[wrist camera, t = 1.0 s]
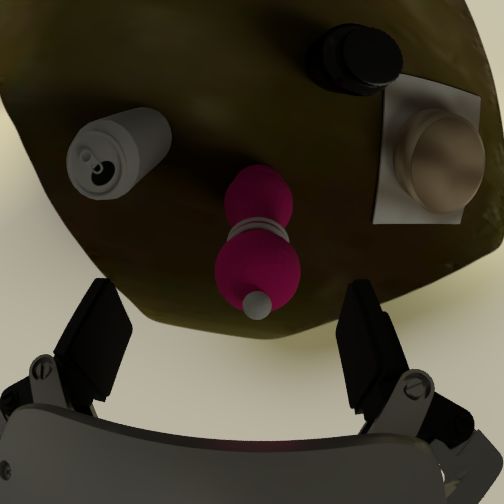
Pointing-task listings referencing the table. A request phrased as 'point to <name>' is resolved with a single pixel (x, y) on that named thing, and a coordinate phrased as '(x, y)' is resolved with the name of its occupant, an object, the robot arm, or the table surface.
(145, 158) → the can
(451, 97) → the pedestal
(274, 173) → the pepper mill
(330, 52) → the supplement bottle
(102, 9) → the table surface
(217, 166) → the table surface
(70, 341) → the robot arm
